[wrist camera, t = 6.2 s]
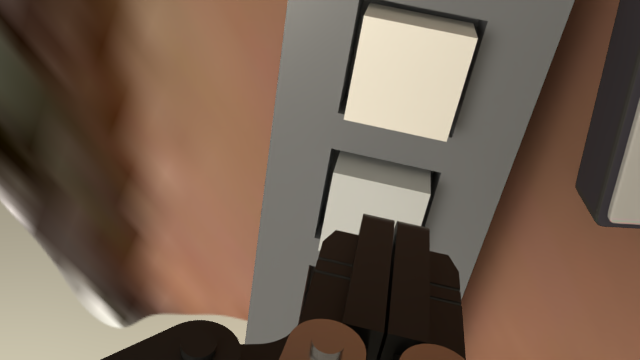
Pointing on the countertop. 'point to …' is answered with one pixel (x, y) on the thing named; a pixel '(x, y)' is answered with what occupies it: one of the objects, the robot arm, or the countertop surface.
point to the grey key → (374, 193)
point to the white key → (409, 71)
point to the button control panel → (615, 130)
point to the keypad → (391, 137)
